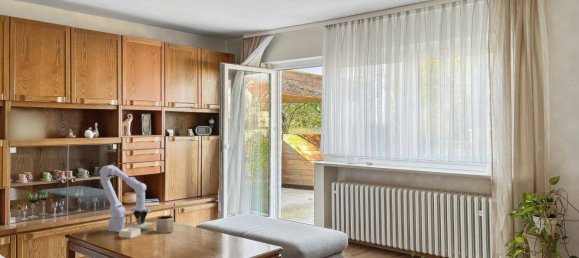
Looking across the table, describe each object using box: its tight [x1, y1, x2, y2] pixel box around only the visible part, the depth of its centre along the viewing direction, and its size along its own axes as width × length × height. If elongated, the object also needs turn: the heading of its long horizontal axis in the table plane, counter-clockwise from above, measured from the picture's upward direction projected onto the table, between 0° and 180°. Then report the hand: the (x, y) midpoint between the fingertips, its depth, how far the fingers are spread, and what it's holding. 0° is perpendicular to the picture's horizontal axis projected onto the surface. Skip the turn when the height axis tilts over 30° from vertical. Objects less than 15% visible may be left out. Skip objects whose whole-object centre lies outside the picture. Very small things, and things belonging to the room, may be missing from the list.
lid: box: [127, 216, 153, 228], centre depth 296 cm, size 11×11×5 cm
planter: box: [155, 215, 175, 235], centre depth 292 cm, size 11×11×10 cm
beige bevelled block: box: [118, 227, 142, 239], centre depth 280 cm, size 9×9×4 cm
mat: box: [139, 227, 154, 234], centre depth 296 cm, size 12×12×1 cm
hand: (140, 222), depth 296 cm, fingers closed on lid, 3 cm apart
